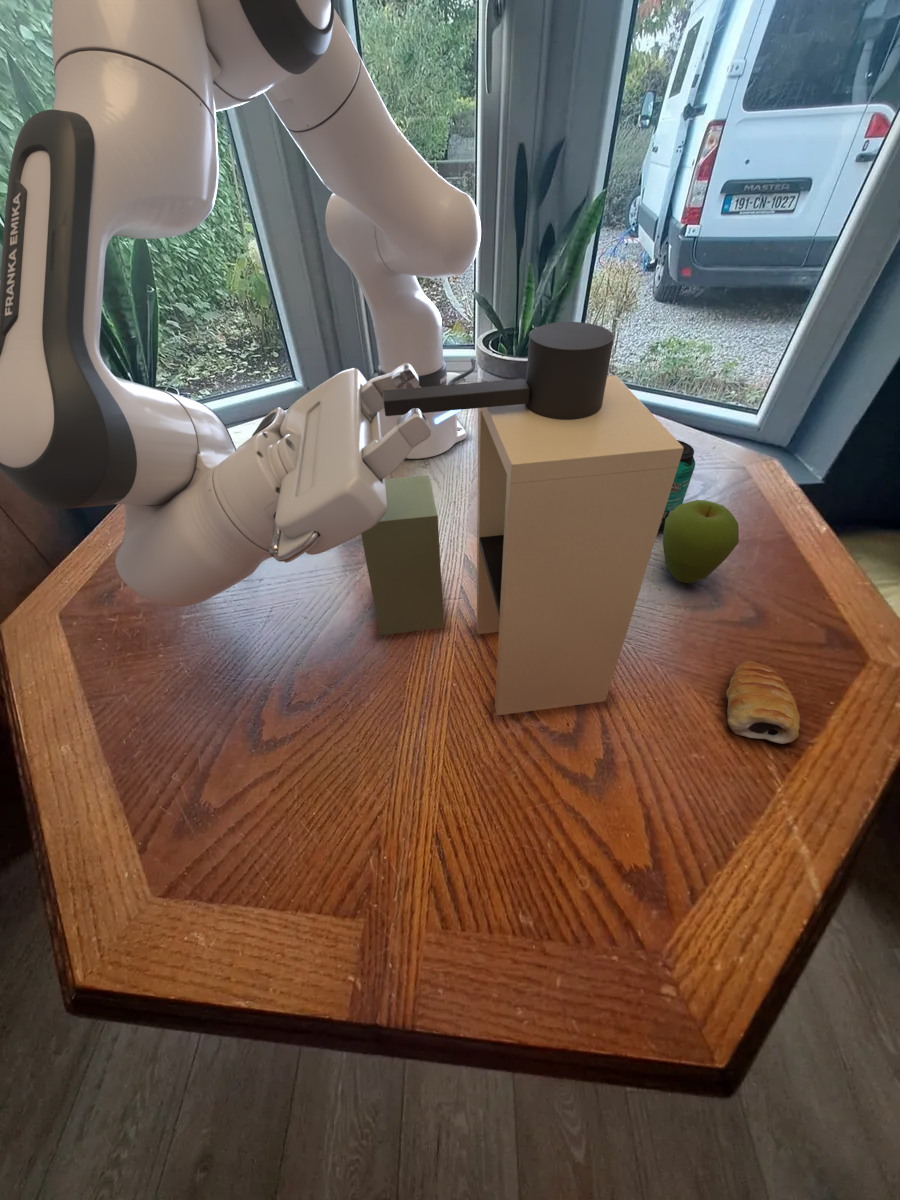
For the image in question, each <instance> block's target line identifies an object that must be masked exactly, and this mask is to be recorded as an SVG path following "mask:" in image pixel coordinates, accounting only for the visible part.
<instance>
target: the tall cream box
mask: <svg viewBox="0 0 900 1200" xmlns="http://www.w3.org/2000/svg"><path fill="white" fill-rule="evenodd" d="M477 410H478V411H477V505H476V506H477V510H476V511H477V516H476V517H477V521H476V522H477V524H476V526H477V528H476V532H477V533H476V543H477V544H476V631H477V634H478V635H483V634H492V633H498V639H497V641H498V642H497V659H496V660H497V661H496V678H495V695H494V696H495V698H494V709H495V713H496V716H505V715H513V714H521V713H526V712H527V713H528V712H535V711H541V710H549V709H557V708H564V707H566V708H567V707H572V706H573V707H574V706H579V705H588V704H595V703H603V702H606V701H607V698H608V694H609V690H610V688H611V685H612V681H613V678H614V675H615V671H616V669H617V665H618V662H619V659H620V656H621V652H622V649H623V645H624V642H625V640H626V637H627V633H628V630H629V627H630V623H631V619H632V618H633V613H634V611H635V607H636V605H637V601H638V597H639V595H640V591H641V588H642V584H643V582H644V578H645V574H646V571H647V568H648V565H649V562H650V560H651V556H652V552H653V549H654V546H655V543H656V540H657V537H658V533H659V532H658V530H659V527H660V523H661V520H662V517H663V514H664V510H665V507H666V504H667V501H668V498H669V494H670V491H671V488H672V485H673V481H674V478H675V475H676V472H677V469H678V465H679V462H680V459H681V456H682V452H683V449H684V447H683V446H682V445H681V444H680V443H679V442H678V441H677V440H678V439H676V438H675V436H674V435H673V434H672V433H671V432H669V430H668V429H667V428H666V426H664V425H663V423H661V421H659V419H658V418H657V417H656V416H655V415H654V414H653V413H652V411H650V410H649V409H648V408H647V407H646V405H644V404H643V402H642V401H641V400H640V399H639V398H638V397H637V396H636V395H635V393H634V392H632V390H631V389H630V388H629V387H627V385H626V384H625V383H624V382H623V380H621V379H620V378H619V377H618V376H617V374H613V375H612V374H611V375H607V380H606V386H605V391H604V397H603V403H602V407H601V409H600V410H599V411H598V412H597V413H595V414H593V415H591V416H589V417H585V418H580V419H572V420H561V419H552V418H547V417H543V416H540V415H538V414H535V413H533V412H532V411H530V410H529V409H528V408H527V407H526V405H525V404H518V405H507V406H496V407H485V408H477Z"/></svg>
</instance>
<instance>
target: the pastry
mask: <svg viewBox="0 0 900 1200" xmlns="http://www.w3.org/2000/svg"><path fill="white" fill-rule="evenodd" d="M725 695H726V698H727V711H726V712H727V713H726V714H727V724H728V727H729V728H730V730H731V731H732V732H733V733H734V734H736V735H738V736H742V737H744V738H745V737H746V738H749V739H756V740H757V739H758V740H759V739H761V740H767V741H769V742H772V743H777V744H782V745H784V744H788V743H792V742H793V741H795V740H797V738H799V736H800V733H799V730H800V728H801V727H800V724H801V723H800V721H801V714H800V713H799V710H798V705H797V702H796V699H795V697H794V695H793V693H792V692H791V691H790V689H789V687H788V686H787V685H786V684H785V681H784V680H783V679H782V677H781V675H779V673H778V672H777V671H776V670H775V669H773V667H770V666H768V665H765V664H762V663H758V662H756V661H753V660H747V661H745V662H742V663H740V664H738V665H737V666H736V668H735V671H734V673H733V674H732V676H731V677H730V679H729V686H728V688H727V689H726V692H725Z"/></svg>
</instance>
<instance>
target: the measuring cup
mask: <svg viewBox="0 0 900 1200" xmlns="http://www.w3.org/2000/svg"><path fill="white" fill-rule="evenodd" d="M614 339H615V335H614V334H613V332H612V331H611V330H609V329H608V328H606V327H603V326H601V325H598V324H593V323H587V322H579V321H559V322H551V323H546V324H543V325H540V326H539V325H538V326H537V327H535V328H533V329H532V330H530V332H529V334H528V346H527V347H528V349H527V363H526V377H525V378H526V379H525V378H515V379H503V380H502V379H501V380H490V381H489V380H488V381H480V382H469V383H468V382H467V383H453V384H452V385H443V386H431V387H420V388H408V389H396V390H385V391H383V401H384V409H385V416H396V415H404V414H407V413H408V412H409V411H410V410H412V409H413V408H418V409H420V410H421V412H422V413H429V412H440V411H451V410H460V411H463V410H472V409H473V410H474V409H478V408H485V407H496V406H507V405H518V404H525V405H526V407H527V408H528V409H529V410H530V411H532V412H533V413H535V414H538V415H540V416H543V417H547V418H552V419H561V420H572V419H580V418H585V417H589V416H591V415H593V414H595V413H597V412H598V411H599V410H600V409H601V407H602V403H603V397H604V391H605V386H606V380H607V376H608V374H609V368H610V363H611V356H612V352H613V346H614Z"/></svg>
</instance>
